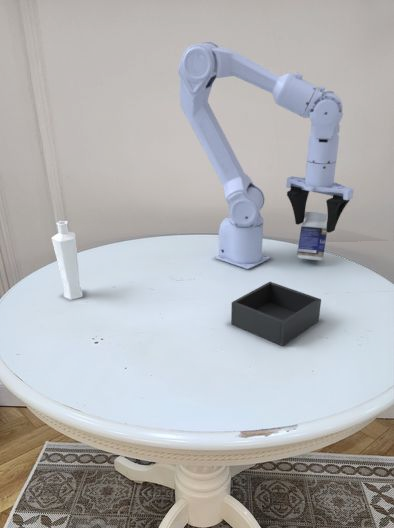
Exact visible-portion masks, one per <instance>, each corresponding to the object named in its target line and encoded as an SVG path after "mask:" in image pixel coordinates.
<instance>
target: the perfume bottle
mask: <svg viewBox="0 0 394 528" xmlns="http://www.w3.org/2000/svg"><path fill="white" fill-rule="evenodd" d="M55 224H56V227H57V232H58V233H56V234H55V235H53V236H52V237H51V242H52V245H53V249H54V253H55V257H56V262H57V265H58V269H59V273H60V277H61V281H62V285H63V288H64V290H63V297H64V298H66V299H68V300H70V301H71V300H76V299H79V298H83V297H84V296H83V295H84V294H83V290H82V288H81V283H80V272H79V261H78V248H77V238H76V237H77V236H76V233H75V232H72V231H69V228H68V226H69V225H68V220H59V221H57V222H56V223H55Z"/></svg>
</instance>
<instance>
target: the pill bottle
mask: <svg viewBox="0 0 394 528" xmlns="http://www.w3.org/2000/svg"><path fill="white" fill-rule="evenodd" d="M327 219H328V213H325V212H317V211H305V218H304V222H303V223H301V224H300V225H301V226H300V231H299V239H298V240H299V241H298V246H297V252H296V253H297V254H296V257H297V258H298V259H303V260H312V261H322V260H324V255H325V248H326V240H327V235H328V232H327V230H326V227H327V223H326V221H327Z"/></svg>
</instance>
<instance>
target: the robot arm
mask: <svg viewBox="0 0 394 528" xmlns="http://www.w3.org/2000/svg"><path fill="white" fill-rule="evenodd" d="M179 62H180V63H179V65H178V68H177V72H178V77H179V105H180V108H181V110H182V112H183V114H184V116H185V118H186V119H187V121H188V123H189V125H190V127H191V128H192V131H193V132H194V134H195V136H196V138H197V140H198V141H199V143H200V145H201V147H202V149H203V151H204V153H205V155H206V156H207V158H208V160H209V162H210V164H211V166H212V168H213V169H214V172H215V173H216V175H217V177H218V179H219V181H220V183H221V184H222V187H223V193H224V198H225V201H226V203H227V204H228V215H229V216H228V217H226V218H224V219H223V220H222V221H221V223H220V225H219V228H218V255H216V257H215V258H216V260H219V261H222V262H224V263H228V264H231V265H234V266H237V267H240V268H243V269H246V270H251V269H252V268H255V267H256V266H258V265H260V264H262V263H264V262H266V261H268V260H270V259H271V258H270V256H269V255H265V254H263V237H264V218H263V216H262V214H261V210H262V208H264V205H265V195H264V192H263V190H262V189H261V188H259V187H258V186H257V185H256V184H254V182H253V180H252V178H251V177H250V176H249V175H248V174H246V172H245V171H244V169H243V166H241V163H240V161H239V160H238V158H237V156H236V153H235V152H234V150H233V148H232V146H231V144H230V142H229V140H228V138H227V136H226V134H225V133H224V131H223V128H222V126H221V125H220V122H219V121H218V119H217V117H216V115H215V113H214V111H213V109H212V107H211V105H210V104H209V97H210V94H211V91H212V87H213V83H214V82H215V81H216V79H221V78H229V77H236V78H238V79H240V80H242V81H244V82H247V83H248V84H251V85H253V86H254V87H256V88H259V89H262V90H263V91H266V92H268V93H270V94H272V97H273V100H274V103H275V105H278V106H279V107H282V108H284V109H286V110H287V111H290V112H291V113H293V114H295V115H297V116H299V117H301V118H303V119H307V118H308V119H309V120H310V122H311V126H310V134H309V135H308V144H307V155H306V165H305V177H299V176H290V177H287V178H286V186H285V188H287V189H289V190H288V191H286V196H287V198H288V200H289V202H290V205H291V206H292V211H293V216H294V223H295V225H298V226H299V225H302V224H303V223H304V222H305V212H306V208H307V207H306V206H307V202H308V197H309V194H310V192H312V193H317V194H322V195H326V196H330V198H328V199H326V209H327V219H326V225H327V227H326V230H327V234H330V233H333V232H334V231H335V230H336V227H337V225H338V221H339V218H340V217H341V214H342V213H343V211H344V209H345V208H346V207H347V205H348V203H350V201H351V199H353V197H354V187H350V186H346V185H344V184H341V183H337V182H335V175H336V168H337V167H336V166H337V159H338V150H339V142H340V136H339V133H340V130H341V129H340V127H341V126H340V122H341V120H342V119H343V115H344V113H343V103H342V99H341V98H340V96H338V95H337V94H336V93H335V92H334V91H333V90H326V87H325V86H323V85H320V86H317V85H315V84H312V83H311V82H309V81H307V80H305V79H303V75H304V74H302V73H300V72H296V73H295V74H294V73H292V72H288V73H285V74H284V75H283V74H282V75H278V74H277V73H275V72H273V71H271V70H270V69H268V68H266V67H264V66H263V65H261V64H259V63H257V62H255V61H253V60H252V59H251V58H248V57H246V56H244V54H243V55H242V54H241V53H239V52H237V51H235V50H233V49H231V48H228V47H225V46H219V45H218V44H217V43H214V42H212V41H204V42H201V43H196V44H192V45H190V46H188V47H187V48H186V49H185V51H184V52H183V54H182V56H181V59H180V61H179Z"/></svg>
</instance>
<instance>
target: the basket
mask: <svg viewBox="0 0 394 528" xmlns="http://www.w3.org/2000/svg"><path fill="white" fill-rule="evenodd" d="M321 304H322V299H321V298H320V297H319V298H318V297H316V296H313V295H311V294H307V293H305V292H301V291H299V290H295V289H293V288H289V287H287V286H284V285H282V284H281V285H280V284H278V283H275V282H272V281H268V282H266V283H264V284H263V285H261V286H259V287H257V288H254V289H253V290H251V291H250V292H248V293H246V294H244V295H242V296H241V297H239V298H237V299H235V300H233V301H231V312H230V313H231V316H230V319H231V321H230V322H231V323H230V324H231V325H232V326H234V327H236V328H239V329H241V330H243V331H246V332H248V333H250V334H253V335H255V336H257V337H260V338H262V339H265V340H266V341H269V342H272V343H274V344H276V345H279V346H281V347H284V346H286V344H288V343H289V342H291V341H292V340H294V339H295V338H297V337H298V336H300V335H301V334H303V333H304V332H306V331H307V330H308V329H310V328H311V327H313V326H314V325H316V324H318V323H319V322H320V314H321V306H322V305H321Z"/></svg>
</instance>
